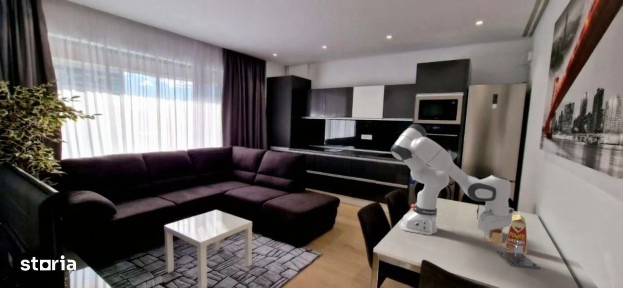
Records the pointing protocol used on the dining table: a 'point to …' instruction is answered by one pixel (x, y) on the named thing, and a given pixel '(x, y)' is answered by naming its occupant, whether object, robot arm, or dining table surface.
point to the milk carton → (517, 233)
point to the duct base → (518, 262)
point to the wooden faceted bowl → (495, 236)
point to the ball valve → (480, 211)
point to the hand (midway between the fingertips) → (492, 236)
